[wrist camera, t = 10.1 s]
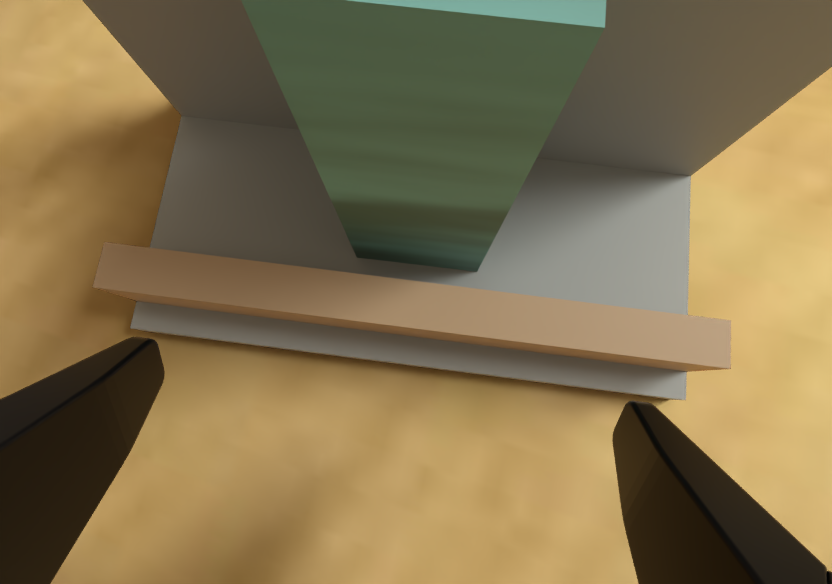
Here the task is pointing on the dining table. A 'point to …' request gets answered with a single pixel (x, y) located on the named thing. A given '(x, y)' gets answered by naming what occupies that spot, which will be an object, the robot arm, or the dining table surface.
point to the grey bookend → (520, 231)
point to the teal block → (425, 109)
